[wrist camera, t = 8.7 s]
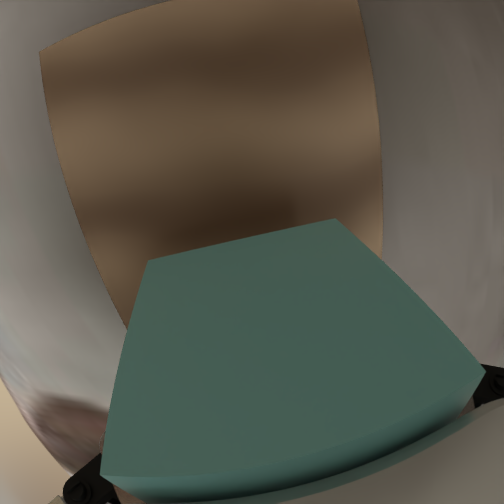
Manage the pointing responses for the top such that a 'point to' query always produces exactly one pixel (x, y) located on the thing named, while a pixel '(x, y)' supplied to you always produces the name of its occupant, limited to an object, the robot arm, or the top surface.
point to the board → (214, 128)
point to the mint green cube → (275, 368)
